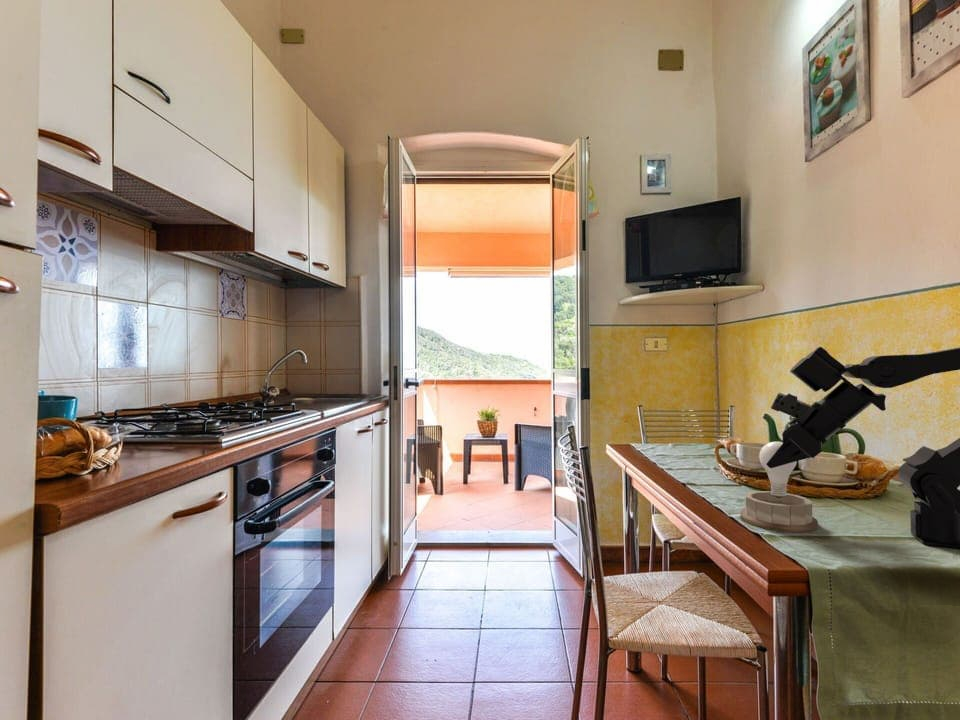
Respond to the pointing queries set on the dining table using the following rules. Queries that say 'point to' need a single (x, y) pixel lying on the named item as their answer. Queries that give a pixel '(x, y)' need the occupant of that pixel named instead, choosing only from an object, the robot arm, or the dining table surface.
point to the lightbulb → (776, 469)
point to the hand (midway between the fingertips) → (769, 463)
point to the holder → (779, 512)
